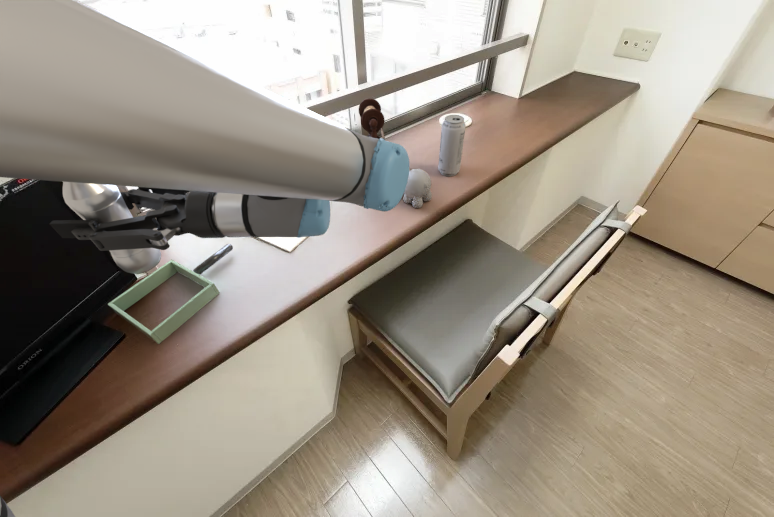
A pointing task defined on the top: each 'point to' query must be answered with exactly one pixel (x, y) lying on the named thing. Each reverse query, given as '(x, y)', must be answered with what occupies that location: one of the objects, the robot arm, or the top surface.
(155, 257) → the plastic bottle
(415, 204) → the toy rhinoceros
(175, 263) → the pan
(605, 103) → the top surface
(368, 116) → the wooden spool stand
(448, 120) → the energy drink can
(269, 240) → the placemat
